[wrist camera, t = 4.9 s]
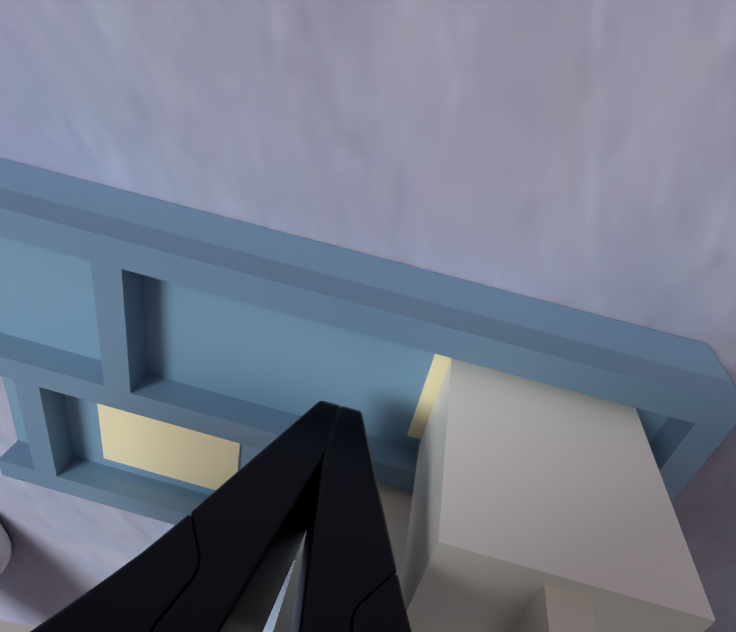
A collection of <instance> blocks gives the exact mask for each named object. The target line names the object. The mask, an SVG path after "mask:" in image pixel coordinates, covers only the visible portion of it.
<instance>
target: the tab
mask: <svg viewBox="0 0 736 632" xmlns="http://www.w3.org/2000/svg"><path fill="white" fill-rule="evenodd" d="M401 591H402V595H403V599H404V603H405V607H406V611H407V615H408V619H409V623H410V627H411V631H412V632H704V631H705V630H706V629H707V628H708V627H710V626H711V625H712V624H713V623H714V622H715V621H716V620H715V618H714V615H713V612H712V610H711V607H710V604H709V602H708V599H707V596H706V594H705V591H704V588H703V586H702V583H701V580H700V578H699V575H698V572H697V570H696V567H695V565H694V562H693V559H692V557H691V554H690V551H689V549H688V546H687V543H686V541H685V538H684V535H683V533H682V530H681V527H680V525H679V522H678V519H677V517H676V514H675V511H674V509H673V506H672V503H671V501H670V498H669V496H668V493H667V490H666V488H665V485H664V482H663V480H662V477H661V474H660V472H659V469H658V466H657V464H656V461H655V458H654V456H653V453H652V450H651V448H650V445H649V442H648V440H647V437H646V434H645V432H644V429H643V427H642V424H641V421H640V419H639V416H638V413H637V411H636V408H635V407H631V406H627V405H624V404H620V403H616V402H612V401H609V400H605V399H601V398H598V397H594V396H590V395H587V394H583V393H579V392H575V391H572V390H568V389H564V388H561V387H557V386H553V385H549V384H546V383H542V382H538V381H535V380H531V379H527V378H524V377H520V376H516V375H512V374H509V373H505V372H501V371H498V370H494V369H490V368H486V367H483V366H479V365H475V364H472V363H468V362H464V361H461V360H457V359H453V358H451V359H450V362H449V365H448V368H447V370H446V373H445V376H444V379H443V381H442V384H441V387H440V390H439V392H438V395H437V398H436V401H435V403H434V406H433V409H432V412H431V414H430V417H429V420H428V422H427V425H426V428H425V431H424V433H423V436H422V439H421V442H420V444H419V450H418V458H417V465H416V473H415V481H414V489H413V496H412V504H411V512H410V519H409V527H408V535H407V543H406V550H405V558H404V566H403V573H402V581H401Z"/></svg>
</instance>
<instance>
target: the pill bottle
mask: <svg viewBox="0 0 736 632" xmlns="http://www.w3.org/2000/svg"><path fill="white" fill-rule="evenodd" d="M10 556H11V542H10V539H9V537H8V534H7V532H6V531H5V530H4V528H3V526H2V525H1V524H0V574H1V573H2V572H3V571H4V569H5V568H6V566H7V564H8V562H9V560H10Z"/></svg>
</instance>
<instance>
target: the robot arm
mask: <svg viewBox="0 0 736 632" xmlns="http://www.w3.org/2000/svg"><path fill="white" fill-rule="evenodd" d="M305 532H306V535H305ZM304 535H305V541H304V546H303V552H302V558H301V564H300V570H299V576H298V582H297V588H296V594H295V600H294V606H293V611H292V617H291V623H290V629H289V632H412V631H411V627H410V623H409V619H408V615H407V611H406V607H405V603H404V599H403V595H402V591H401V586H400V582H399V577H398V575H396V573H397V569H396V565H395V560H394V555H393V551H392V546H391V542H390V537H389V533H388V528H387V524H386V519H385V515H384V510H383V505H382V501H381V496H380V492H379V487H378V483H377V478H376V474H375V469H374V465H373V460H372V456H371V451H370V446H369V442H368V437H367V433H366V428H365V424H364V419H363V415H362V413H361V411H359V410H356V409H353V408H349V407H345V406H340V405H338V404H334V403H331V402H327V401H323V400H321V401H319V402H317V403H316V404H315V405H314V406H313V407H311V408H310V409H309V410H308V411H307V412H306V413H305V414H303V415H302V416H301V417H300V418H299V419H298V420H296V421H295V422H294V423H293V424H292V425H291V426H290V427H288V428H287V429H286V430H285V431H284V432H283V433H281V434H280V435H279V436H278V437H277V438H276V439H275V440H273V441H272V442H271V443H270V444H269V445H268V446H266V447H265V448H264V449H263V450H262V451H261V452H260V453H258V454H257V455H256V456H255V457H254V458H253V459H251V460H250V461H249V462H248V463H247V464H246V465H245V466H243V467H242V468H241V469H240V470H239V471H238V472H236V473H235V474H234V475H233V476H232V477H231V478H229V479H228V480H227V481H226V482H225V483H224V484H223V485H221V486H220V487H219V488H218V489H217V490H216V491H214V492H213V493H212V494H211V495H210V496H209V497H208V498H206V499H205V500H204V501H203V502H202V503H201V504H199V505H198V506H197V507H196V508H195V509H194V510H193V511H192V512H191V516H190V515H186V516H185V517H184V518H183V519H182V520H181V521H180V522H178V523H177V524H176V525H175V526H174V527H173V528H172V529H170V530H169V531H168V532H167V533H166V534H164V535H163V536H162V537H161V538H159V539H158V540H157V541H156V542H154V543H153V544H152V545H151V546H150V547H148V548H147V549H146V550H145V551H143V552H142V553H141V554H139V555H138V556H137V557H135V558H134V559H133V560H131V561H130V562H129V563H127V564H126V565H124V566H123V567H122V568H120V569H119V570H118V571H116V572H115V573H113V574H112V575H111V576H109V577H108V578H106V579H105V580H104V581H102V582H101V583H99V584H98V585H96V586H95V587H93V588H92V589H91V590H89V591H88V592H86V593H85V594H83V595H82V596H81V597H79V598H78V599H76V600H75V601H73V602H72V603H70V604H69V605H68V606H66V607H65V608H63V609H62V610H60V611H59V612H58V613H56V614H55V615H53V616H52V617H50V618H49V619H47V620H46V621H45V622H43V623H42V624H40V625H39V626H37V627H36V628H35V629H33V630H32V631H30V632H262V631H263V629H264V627H265V625H266V622H267V620H268V618H269V615H270V613H271V611H272V608H273V606H274V604H275V602H276V599H277V597H278V595H279V592H280V590H281V588H282V585H283V583H284V581H285V579H286V576H287V574H288V572H289V569H290V567H291V565H292V562H293V560H294V558H295V556H296V553H297V551H298V549H299V546H300V544H301V542H302V539H303V537H304Z"/></svg>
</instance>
